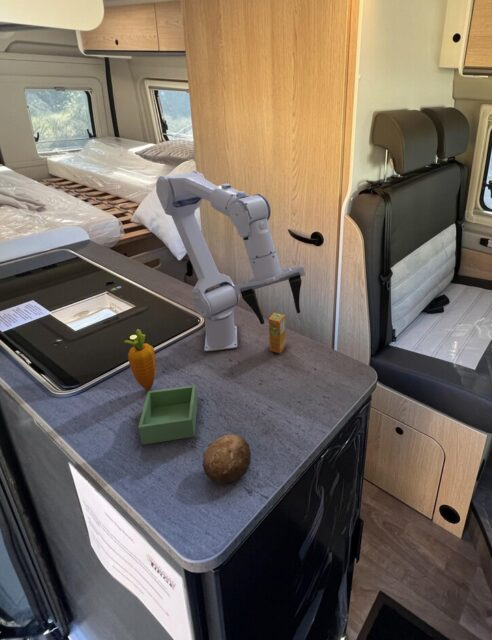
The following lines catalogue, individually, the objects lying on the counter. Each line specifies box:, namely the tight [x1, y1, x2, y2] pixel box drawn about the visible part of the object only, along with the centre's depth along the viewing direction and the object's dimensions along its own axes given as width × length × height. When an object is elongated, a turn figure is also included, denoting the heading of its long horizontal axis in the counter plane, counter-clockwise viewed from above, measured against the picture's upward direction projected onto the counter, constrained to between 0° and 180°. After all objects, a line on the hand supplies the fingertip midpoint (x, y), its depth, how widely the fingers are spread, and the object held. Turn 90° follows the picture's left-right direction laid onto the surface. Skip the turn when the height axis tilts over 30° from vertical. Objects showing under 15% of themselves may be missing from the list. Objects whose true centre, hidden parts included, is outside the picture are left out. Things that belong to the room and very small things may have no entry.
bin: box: [137, 384, 199, 446], centre depth 76 cm, size 9×9×4 cm
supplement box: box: [268, 312, 287, 354], centre depth 97 cm, size 3×3×10 cm
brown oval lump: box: [202, 433, 252, 484], centre depth 68 cm, size 8×8×6 cm
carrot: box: [124, 328, 157, 391], centre depth 81 cm, size 5×5×15 cm
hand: (280, 317), depth 81 cm, fingers open, 7 cm apart
